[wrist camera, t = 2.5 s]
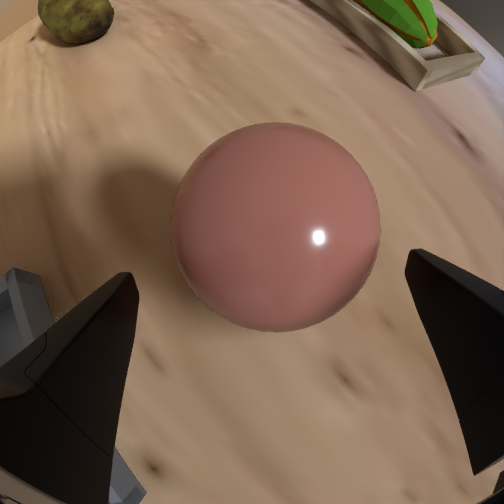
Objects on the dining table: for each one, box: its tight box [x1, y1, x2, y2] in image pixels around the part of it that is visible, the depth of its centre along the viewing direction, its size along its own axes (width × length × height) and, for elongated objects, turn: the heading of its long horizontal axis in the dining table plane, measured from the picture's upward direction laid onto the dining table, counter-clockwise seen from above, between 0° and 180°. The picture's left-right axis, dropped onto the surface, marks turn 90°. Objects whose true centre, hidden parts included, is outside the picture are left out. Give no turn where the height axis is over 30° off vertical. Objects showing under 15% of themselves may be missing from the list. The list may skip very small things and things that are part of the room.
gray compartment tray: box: [0, 267, 147, 504], centre depth 14 cm, size 17×17×3 cm
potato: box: [38, 0, 114, 43], centre depth 21 cm, size 8×13×8 cm, turn 30°
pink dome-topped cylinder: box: [171, 122, 381, 332], centre depth 12 cm, size 5×5×13 cm
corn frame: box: [310, 0, 485, 91], centre depth 23 cm, size 25×12×3 cm, turn 29°
